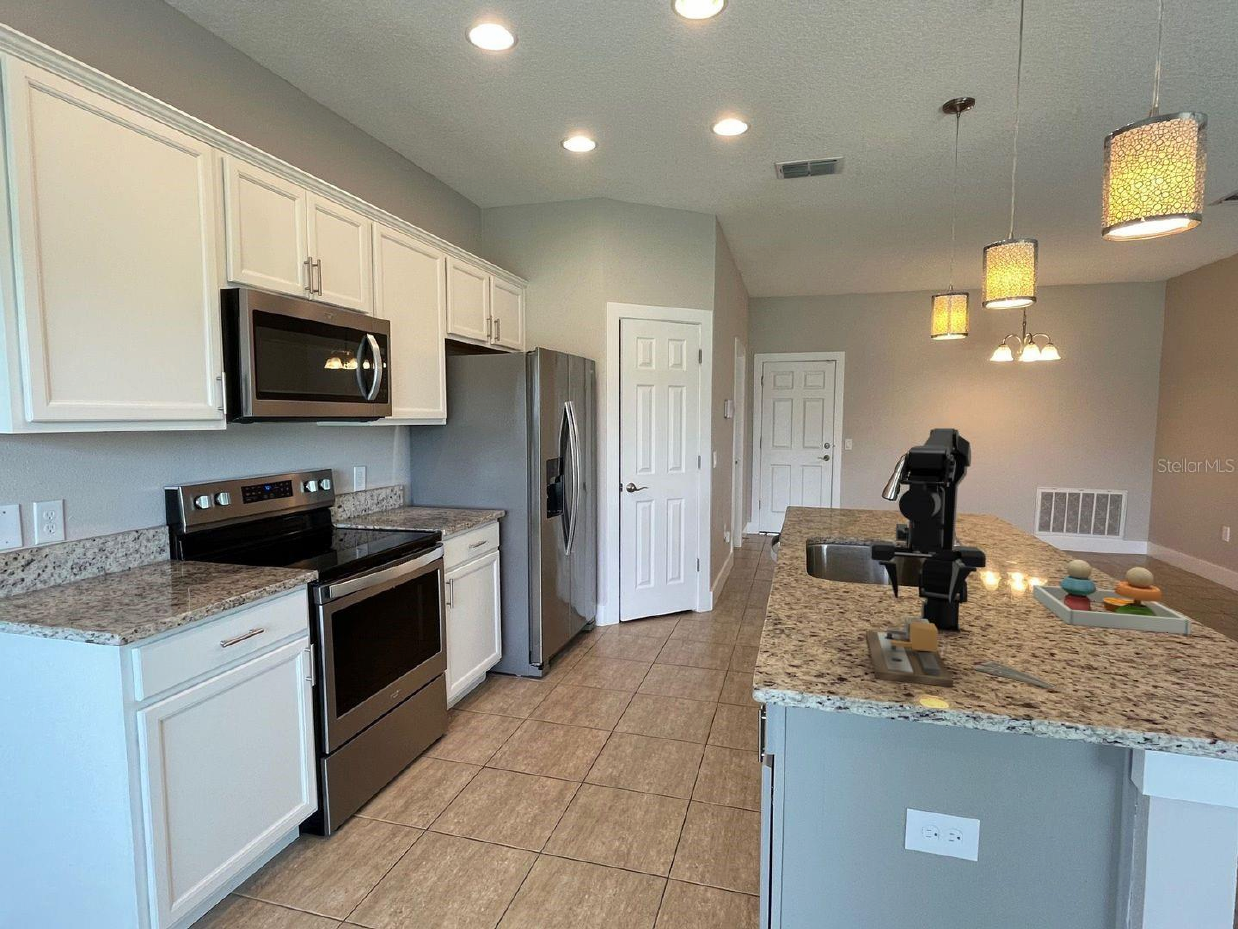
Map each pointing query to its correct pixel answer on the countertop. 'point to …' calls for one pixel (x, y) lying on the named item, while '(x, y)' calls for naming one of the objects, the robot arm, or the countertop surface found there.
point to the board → (906, 659)
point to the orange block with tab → (920, 637)
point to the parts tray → (1161, 623)
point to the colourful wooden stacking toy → (1133, 589)
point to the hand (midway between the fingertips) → (923, 599)
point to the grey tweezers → (1012, 674)
